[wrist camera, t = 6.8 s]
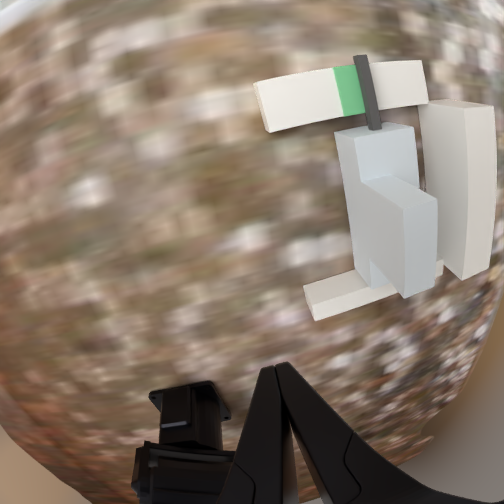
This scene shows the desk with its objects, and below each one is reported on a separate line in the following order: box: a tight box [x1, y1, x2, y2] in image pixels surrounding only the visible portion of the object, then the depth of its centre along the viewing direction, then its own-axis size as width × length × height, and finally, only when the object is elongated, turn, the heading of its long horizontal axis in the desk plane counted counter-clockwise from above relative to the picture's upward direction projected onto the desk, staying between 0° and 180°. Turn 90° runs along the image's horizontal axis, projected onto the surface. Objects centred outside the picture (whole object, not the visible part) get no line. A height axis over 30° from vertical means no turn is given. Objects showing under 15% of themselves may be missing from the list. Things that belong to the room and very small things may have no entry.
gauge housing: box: [253, 60, 497, 321], centre depth 18 cm, size 16×14×5 cm
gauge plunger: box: [334, 55, 438, 299], centre depth 16 cm, size 14×4×8 cm, turn 15°
